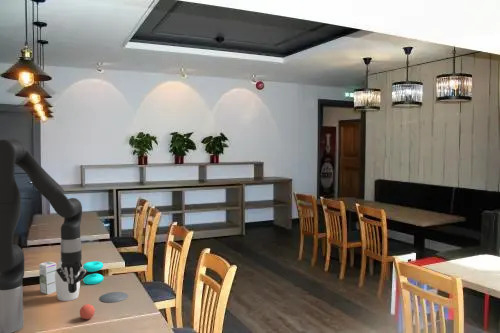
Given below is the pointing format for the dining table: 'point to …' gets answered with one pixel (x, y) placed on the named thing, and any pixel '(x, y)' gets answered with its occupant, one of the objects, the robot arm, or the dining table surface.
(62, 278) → the robot arm
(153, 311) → the dining table surface
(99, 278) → the donuts
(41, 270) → the syrup box
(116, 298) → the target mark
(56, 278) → the bottle
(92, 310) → the ball
